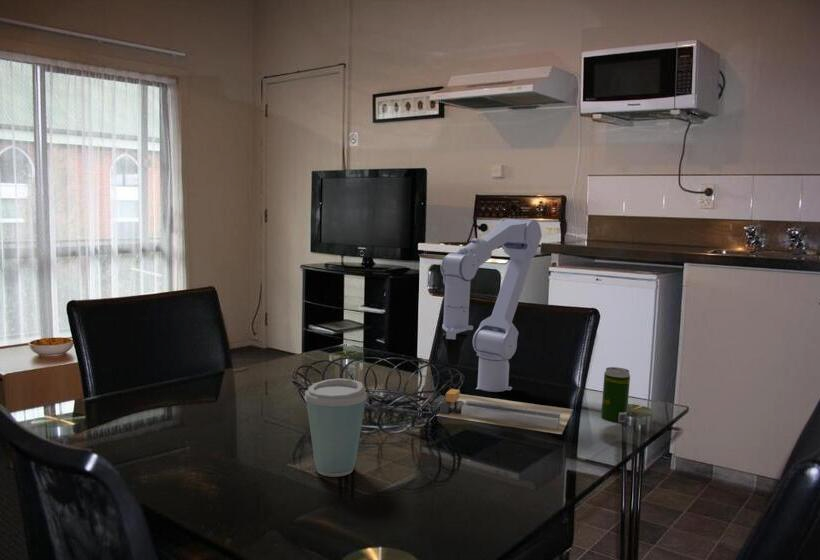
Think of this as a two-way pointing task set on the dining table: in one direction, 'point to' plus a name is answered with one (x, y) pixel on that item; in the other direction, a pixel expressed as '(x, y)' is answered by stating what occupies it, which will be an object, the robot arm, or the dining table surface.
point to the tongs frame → (499, 415)
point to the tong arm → (506, 409)
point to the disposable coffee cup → (335, 424)
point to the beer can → (615, 394)
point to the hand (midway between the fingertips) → (453, 364)
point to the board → (564, 412)
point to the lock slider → (452, 395)
